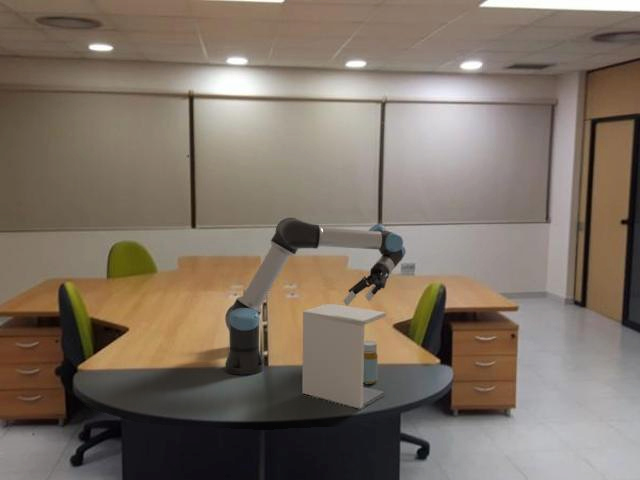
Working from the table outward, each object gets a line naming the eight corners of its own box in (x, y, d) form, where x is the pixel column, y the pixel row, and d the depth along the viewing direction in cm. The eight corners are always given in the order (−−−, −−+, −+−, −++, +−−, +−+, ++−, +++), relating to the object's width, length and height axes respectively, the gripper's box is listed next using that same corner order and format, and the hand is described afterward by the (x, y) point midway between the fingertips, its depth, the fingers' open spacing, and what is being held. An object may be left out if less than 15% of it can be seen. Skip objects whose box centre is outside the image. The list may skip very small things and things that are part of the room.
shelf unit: (360, 410, 203) (362, 321, 200) (302, 394, 217) (302, 311, 213) (384, 395, 216) (386, 312, 213) (327, 382, 230) (328, 303, 227)
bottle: (358, 378, 234) (358, 340, 232) (376, 379, 234) (377, 340, 232) (358, 385, 227) (359, 345, 225) (377, 385, 227) (378, 345, 225)
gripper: (407, 271, 253) (382, 303, 240) (367, 281, 272) (341, 311, 259) (398, 256, 251) (371, 289, 239) (358, 267, 271) (331, 298, 258)
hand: (356, 300), depth 249 cm, fingers open, 13 cm apart
